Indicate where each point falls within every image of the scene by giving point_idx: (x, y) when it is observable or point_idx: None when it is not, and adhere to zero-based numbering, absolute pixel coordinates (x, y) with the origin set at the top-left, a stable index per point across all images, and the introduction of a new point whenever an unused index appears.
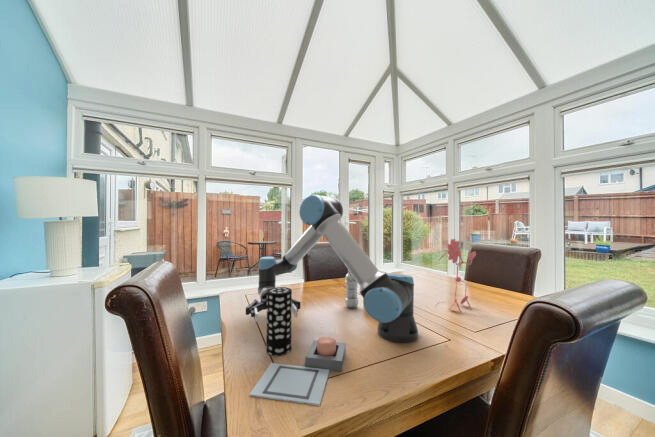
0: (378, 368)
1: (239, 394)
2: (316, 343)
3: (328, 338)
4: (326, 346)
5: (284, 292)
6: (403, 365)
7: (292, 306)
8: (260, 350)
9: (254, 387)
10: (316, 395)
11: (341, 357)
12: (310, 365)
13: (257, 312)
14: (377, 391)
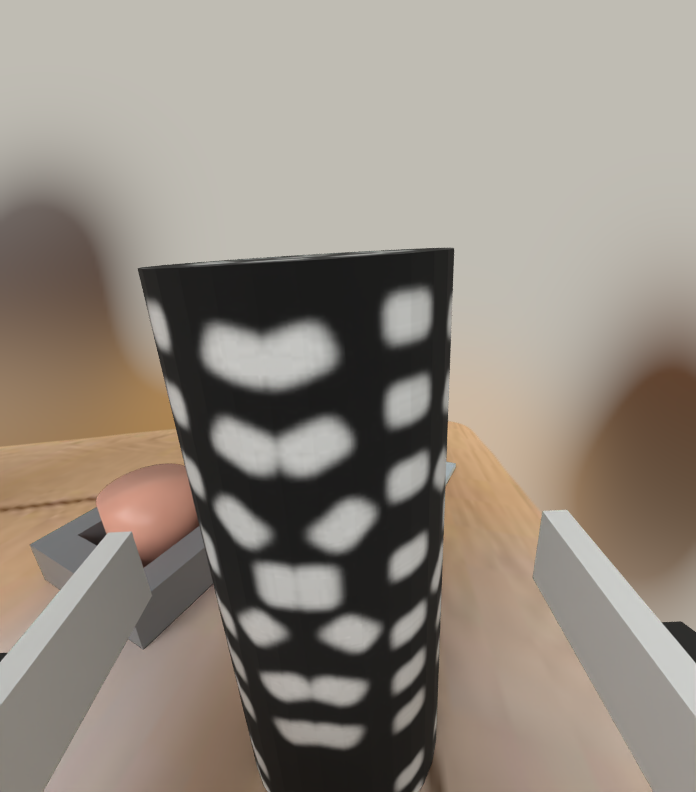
0: (75, 486)
1: (485, 474)
2: (149, 570)
3: (117, 500)
4: (178, 466)
5: (275, 257)
6: (3, 484)
7: (9, 723)
8: (482, 737)
9: (447, 477)
10: None
11: None
12: None
13: (568, 543)
14: (170, 441)
